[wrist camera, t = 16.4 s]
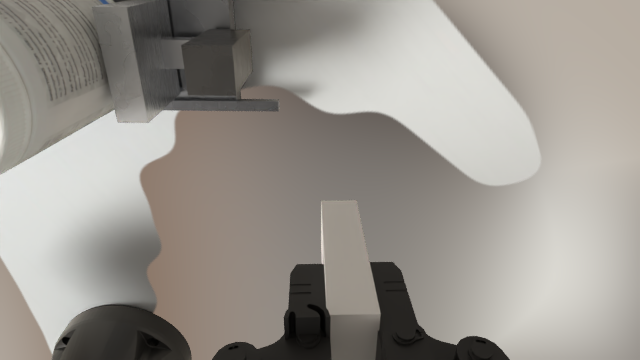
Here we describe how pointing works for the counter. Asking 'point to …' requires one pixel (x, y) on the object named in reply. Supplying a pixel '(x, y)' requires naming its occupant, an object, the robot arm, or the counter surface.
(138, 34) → the sliding jaw
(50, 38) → the supplement tub
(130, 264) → the counter surface
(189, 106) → the vise
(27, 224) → the counter surface
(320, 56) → the counter surface
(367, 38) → the counter surface
